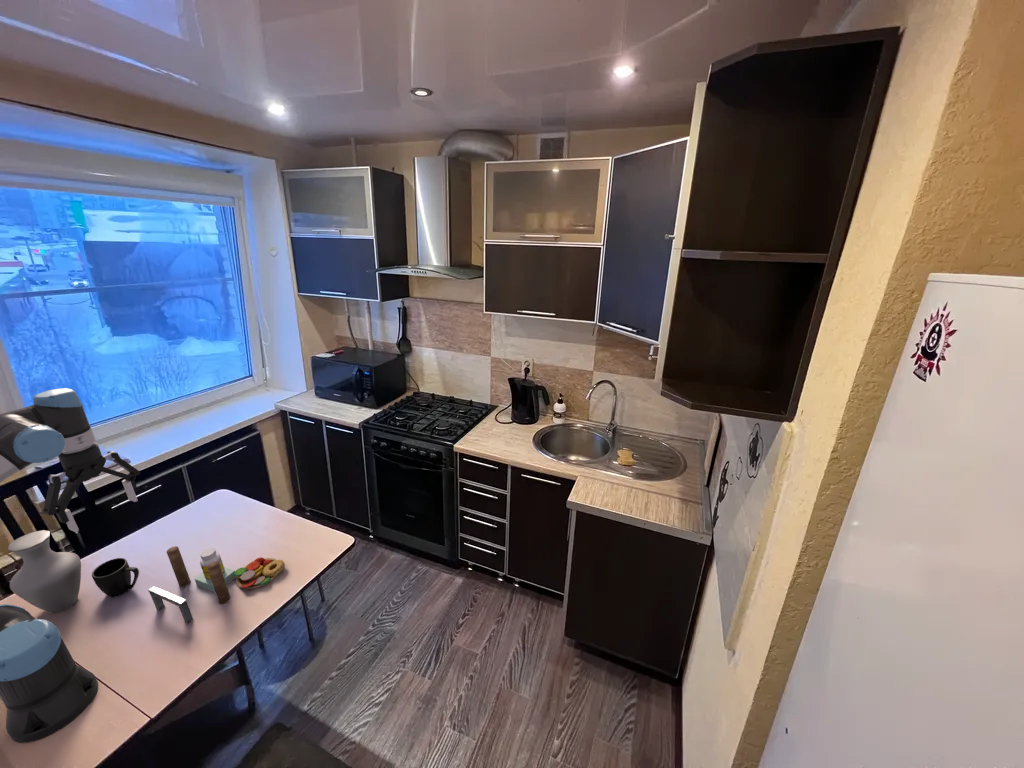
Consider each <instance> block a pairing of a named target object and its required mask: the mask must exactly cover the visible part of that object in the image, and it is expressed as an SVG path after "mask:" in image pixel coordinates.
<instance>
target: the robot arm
mask: <svg viewBox="0 0 1024 768" xmlns="http://www.w3.org/2000/svg"><path fill="white" fill-rule="evenodd" d="M32 400H33V404H32V405H29V406H26V407H22V408H18V409H15V410H12V411H6V412H2V413H0V484H2V483H3V482H5V481H6V480H7V479H9V478H11V477H12V476H14V475H16V474H17V473H19V472H20V471H23V470H24V469H25V468H27V467H29V466H30V465H31V464H41V463H45V462H49V461H52V460H54V459H56V458H57V457H58V459H59V461H60V463H61V466H62V468H63V470H62V472H59V473H57V474H49V475H48V476H47V480H48V489H47V492H46V497H45V502H44V504H43V509H42V513H43V514H46V515H49V516H53V515H56V516H57V518H58V520H59V522H60V523H62V524H66V525H67V528H68V530H70V531H71V532H74V533H77V532H79V531H80V529H79V527H78V525H77V522H76V521H75V519H74V516H73V514H72V512H71V510H70V509H68V505H69V504H70V501H72V498H73V496H74V495H75V493H76V491H77V489H78V488H79V487H80V485H81V484H82V482H88V481H89V480H91V479H92V478H96V477H99V476H100V474H101V473H105V474H109V475H111V476H115V477H118V478H120V479H121V478H122V479H123V480H121V483H122V485H123V488H124V491H125V494H126V496H127V498H128V500H129V501H130V502H134V503H135V502H138V497H137V495H136V492H135V490H136V489H137V484H136V479H137V478H136V477H137V476H139V475H140V474H141V471H140V470H139V469H137V468H136V467H134V466H133V465H131V464H130V463H128V462H127V461H125V460H124V459H122V458H121V456H120V455H119V453H118V452H116V451H113V450H108V451H107V453H106V454H104V455H102V452H101V448H100V447H99V445H98V443H97V442H96V441H97V440H96V438H95V437H96V436H95V434H94V432H93V429H92V427H91V425H90V422H89V420H88V417H87V414H86V412H85V408H84V404H83V403H82V401H81V399H80V397H79V396H78V393H77V392H76V391H75V390H74V389H71V388H64V387H63V388H55V389H49V390H46V391H43V392H39V393H37V394H35V395H34V396H33V397H32ZM107 461H110V462H113V463H115V464H117V465H118V466H119V467H121V468H123V470H126V471H127V472H128V473H123V472H120V471H117V470H115V469H111V468H109V467H105V464H106V462H107ZM66 477H67V478H68V479H67V481H66V485H65V487H64V488H63V489H62V483H63V482H64V479H65V478H66ZM61 489H62V492H61ZM59 495H60V496H59ZM98 689H99V681H98V679H97V677H96V676H95V673H93V672H92V671H90V670H88V669H85V668H84V667H82V666H80V665H78V664H77V663H76V661H75V660H74V658H73V656H72V655H71V652H70V651H69V649H68V647H67V645H66V643H65V642H64V639H63V638H62V635H61V632H60V630H59V628H58V627H57V626H56V625H55V624H54V623H53V622H51V621H49V620H47V619H43V618H42V619H41V618H36V617H34V616H33V615H32V614H31V613H30V612H29V611H28V610H26V609H25V608H24V607H21V606H17V605H14V604H9V603H7V604H6V603H5V604H4V603H3V604H0V700H1V701H2V703H3V704H4V705H5V707H6V720H5V721H6V722H5V728H6V733H7V735H8V736H9V737H10V738H11V740H12V741H13V742H16V743H19V744H27V743H32V742H36V741H39V740H42V739H44V738H47V737H48V736H51V735H53V734H55V733H56V732H58V731H60V730H62V729H63V728H65V727H66V726H68V725H69V724H70V723H72V722H73V721H75V720H76V718H78V717H79V716H80V715H81V714H82V713H84V712H85V710H86V709H87V708H88V707H89V705H90V704H91V703H92V702H93V700H94V699H95V697H96V695H97V693H98Z"/></svg>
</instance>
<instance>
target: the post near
mask: <svg viewBox="0 0 1024 768" xmlns="http://www.w3.org/2000/svg"><path fill="white" fill-rule="evenodd" d="M207 569H208V572H209V575H210V578H211V581H212V584H213V586H214V589H215V592H214V593H215V596H216V598H217V600H218V603H219V604H220V605H222V604H226V603H228V602H229V601H230V600H231V594H230V593H229V589H228V587H227V586H228V585H227V584H226V583H225V580H224V577H223V574H222V570H221V567H220V564H219V562H218V561H215V562H212V563H210V564H209V565H208V566H207Z"/></svg>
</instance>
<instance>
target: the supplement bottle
mask: <svg viewBox="0 0 1024 768" xmlns="http://www.w3.org/2000/svg"><path fill="white" fill-rule="evenodd" d="M199 555H200V561H199V565H200V567H201V569H202V573H204V576H205V579H206V580H207V581H211V578H210V575H209V572H208V569H207V566H208V565H209V564H210V563H212V562H215V561H218V562H219V564H220V567H221V570H222V574H223V575H224V573H225V569H224V567H225V565H224V563H223V560H222V556H221V554H220V552H217V551H216V548H214V547H207V548H204V549H203V550H202V551H201V552H200V554H199Z"/></svg>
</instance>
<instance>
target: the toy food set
mask: <svg viewBox="0 0 1024 768" xmlns="http://www.w3.org/2000/svg"><path fill="white" fill-rule="evenodd" d="M285 566H286V564H285V561H284V560H283V559H277V558H274V557H273V558H271V557H267V558H265V557H257V558H255V559H254V560H252V561H251V562H249V563H248V564H246V565H245V566H244V567H239V568H238V569H237V568H236V570H235V572H234V575H235V576H236V584H237V586H238V587H239V588H241V589H245V590H249V589H250V590H251V589H257V588H261V587H263V586H265V585H267V584H268V583H270V582H272V581H273V580H274V579H275V578H276V577H277V576H278V575H279V574H280V573H281V572H282V571H283V570H284V568H285Z"/></svg>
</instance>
